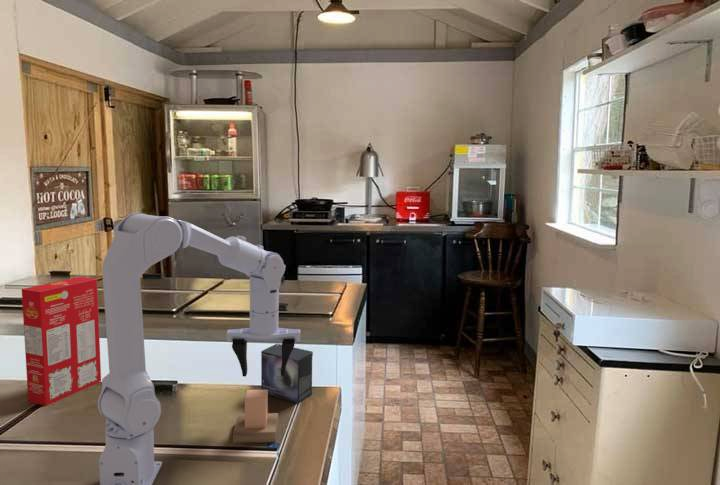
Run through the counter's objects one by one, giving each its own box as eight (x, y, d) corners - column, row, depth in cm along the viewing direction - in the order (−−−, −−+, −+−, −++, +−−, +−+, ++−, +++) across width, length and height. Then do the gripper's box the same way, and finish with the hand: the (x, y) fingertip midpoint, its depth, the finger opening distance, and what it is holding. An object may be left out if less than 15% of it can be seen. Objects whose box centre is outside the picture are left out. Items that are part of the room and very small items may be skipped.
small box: (259, 394, 123) (259, 350, 121) (276, 384, 129) (276, 342, 127) (297, 404, 118) (297, 359, 117) (313, 394, 124) (313, 350, 122)
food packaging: (84, 377, 129) (79, 276, 126) (101, 381, 128) (97, 278, 124) (28, 401, 116) (21, 289, 112) (46, 405, 114) (39, 291, 111)
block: (265, 427, 103) (265, 398, 102) (244, 427, 103) (244, 398, 102) (267, 418, 107) (267, 389, 106) (247, 418, 106) (247, 389, 106)
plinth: (275, 442, 102) (275, 432, 101) (232, 442, 101) (232, 432, 101) (278, 422, 109) (278, 413, 109) (238, 422, 109) (238, 413, 108)
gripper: (300, 304, 112) (300, 367, 113) (230, 304, 110) (230, 367, 112) (300, 313, 105) (299, 380, 106) (225, 313, 103) (225, 380, 105)
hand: (263, 374), depth 109 cm, fingers open, 7 cm apart
